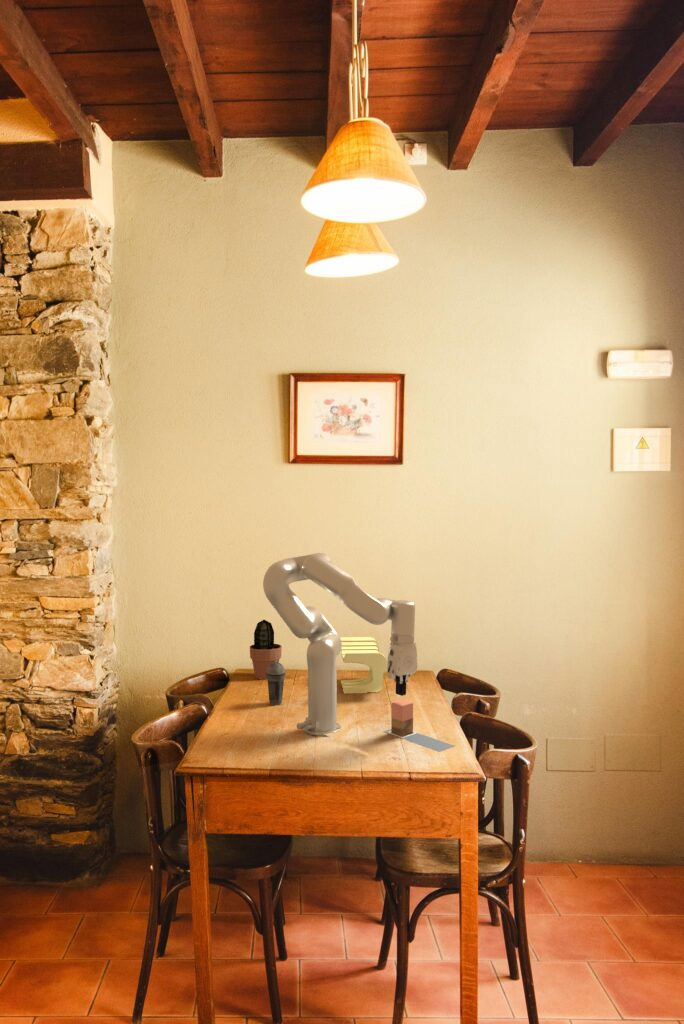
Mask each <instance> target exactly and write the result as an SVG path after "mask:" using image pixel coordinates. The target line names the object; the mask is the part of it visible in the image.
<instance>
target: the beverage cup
mask: <svg viewBox="0 0 684 1024" xmlns="http://www.w3.org/2000/svg"><path fill="white" fill-rule="evenodd" d="M266 674H267V679H266V680H267V689H268V690H267V691H268V701H269V705H270V704H271V705H270V706H274V705H277V706H281V705H282V704H283V703H282V702H283V696H284V695H283V694H284V683H285V676H286V670H285V667H284V665H283V664H282V663H281V662H279V663H278V662H276V651H275V662H274V663H271V664H270V665H269V666H268V668H267V672H266ZM281 703H282V704H281ZM280 704H281V705H280Z"/></svg>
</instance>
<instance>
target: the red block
mask: <svg viewBox="0 0 684 1024" xmlns="http://www.w3.org/2000/svg"><path fill="white" fill-rule="evenodd" d="M390 709H391V713H390V719H391V718H394V719H397V720H400V721H405V720H409V719H412V718H413V719H414V703H413V702H410V701H408V700H406V699H399V700H395V701H392V702H391V707H390Z"/></svg>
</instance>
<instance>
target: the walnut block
mask: <svg viewBox="0 0 684 1024" xmlns="http://www.w3.org/2000/svg"><path fill="white" fill-rule="evenodd" d="M390 719H391V723H390V724H391V727H390V728H391V733H394V734H396V735H399V736H402V737H403V736H406V735H409V734H412V733H413V732H414V717H413V718H412V719H409V720H405V721H400V720H397V719H394V718H391V717H390Z"/></svg>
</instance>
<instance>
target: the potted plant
mask: <svg viewBox="0 0 684 1024" xmlns="http://www.w3.org/2000/svg"><path fill="white" fill-rule="evenodd" d="M282 647H283V646H282V645H281V644H278V643H275V630H274V628H273V624H272V623H271V622H270V621H268V620H266V619H262V620H261V621H259V622H257V624H256V626H255V629H254V632H253V644H252V645H250V646H249V658H250V660H251V661H252V666H253V671H254V673H253V674H254V677H255V678H256V677H257V678H256V679H258V678H261V679H260V680H268V679H267V674H266V672H267V668H268V666H269V665H270V664H271V663H274V662H275V651H276V662H278V663H280V659H282Z"/></svg>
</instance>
